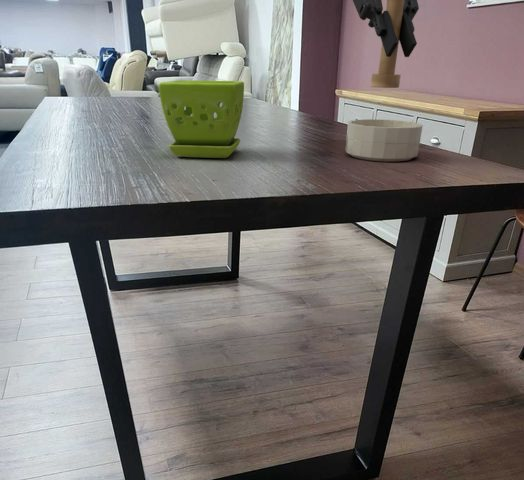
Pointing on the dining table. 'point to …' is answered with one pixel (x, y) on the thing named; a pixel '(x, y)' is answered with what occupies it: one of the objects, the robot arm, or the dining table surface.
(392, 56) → the muddler
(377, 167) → the dining table surface
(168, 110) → the flower pot
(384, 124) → the bowl
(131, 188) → the dining table surface
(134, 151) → the dining table surface
